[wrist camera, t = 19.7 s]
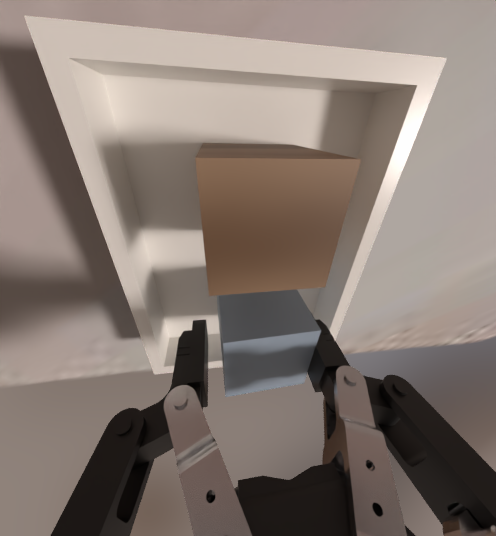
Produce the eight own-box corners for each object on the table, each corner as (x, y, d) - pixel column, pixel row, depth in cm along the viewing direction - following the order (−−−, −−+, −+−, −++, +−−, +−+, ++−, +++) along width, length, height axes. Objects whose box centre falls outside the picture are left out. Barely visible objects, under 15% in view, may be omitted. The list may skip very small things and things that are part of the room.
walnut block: (202, 142, 10) (194, 157, 5) (293, 144, 11) (361, 159, 6) (209, 230, 13) (209, 295, 8) (282, 227, 13) (325, 287, 8)
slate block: (215, 267, 14) (223, 343, 9) (281, 262, 15) (321, 330, 10) (218, 316, 16) (225, 396, 12) (274, 310, 17) (303, 383, 12)
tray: (163, 335, 18) (154, 374, 16) (85, 52, 9) (23, 15, 6) (312, 322, 20) (329, 354, 17) (383, 76, 11) (446, 57, 8)
